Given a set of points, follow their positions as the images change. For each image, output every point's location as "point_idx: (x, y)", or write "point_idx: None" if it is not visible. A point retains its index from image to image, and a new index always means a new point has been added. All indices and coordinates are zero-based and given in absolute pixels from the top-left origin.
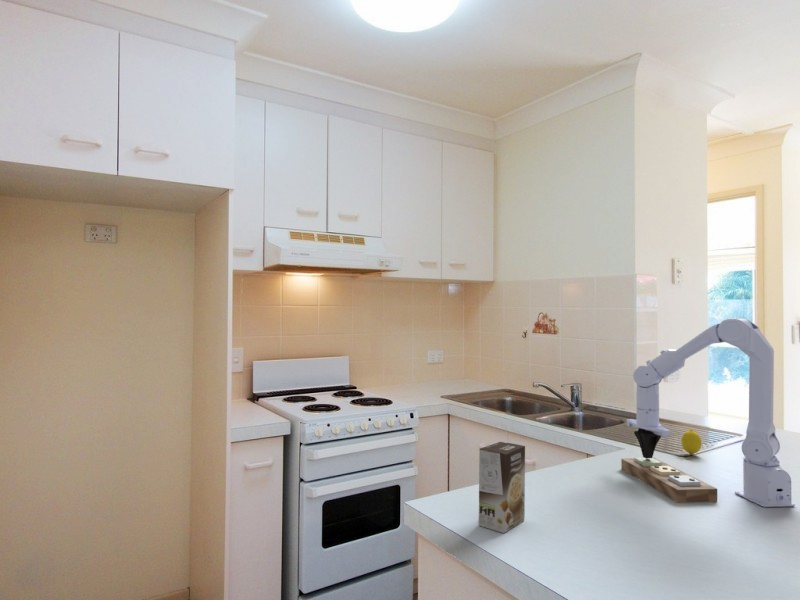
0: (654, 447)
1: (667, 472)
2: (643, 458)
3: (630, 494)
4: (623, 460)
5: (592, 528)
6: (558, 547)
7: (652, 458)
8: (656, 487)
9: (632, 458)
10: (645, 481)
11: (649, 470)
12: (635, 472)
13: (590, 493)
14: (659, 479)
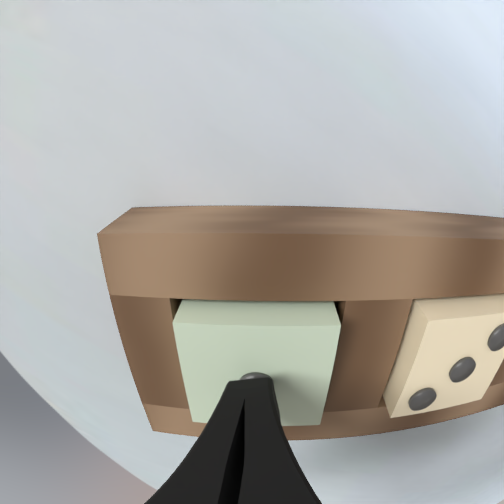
0: (290, 455)
1: (493, 371)
2: (208, 388)
3: (444, 443)
4: (176, 430)
5: (494, 481)
6: (495, 495)
7: (208, 332)
8: None
9: (138, 387)
10: None
11: None
12: None
13: (394, 494)
14: (494, 406)
